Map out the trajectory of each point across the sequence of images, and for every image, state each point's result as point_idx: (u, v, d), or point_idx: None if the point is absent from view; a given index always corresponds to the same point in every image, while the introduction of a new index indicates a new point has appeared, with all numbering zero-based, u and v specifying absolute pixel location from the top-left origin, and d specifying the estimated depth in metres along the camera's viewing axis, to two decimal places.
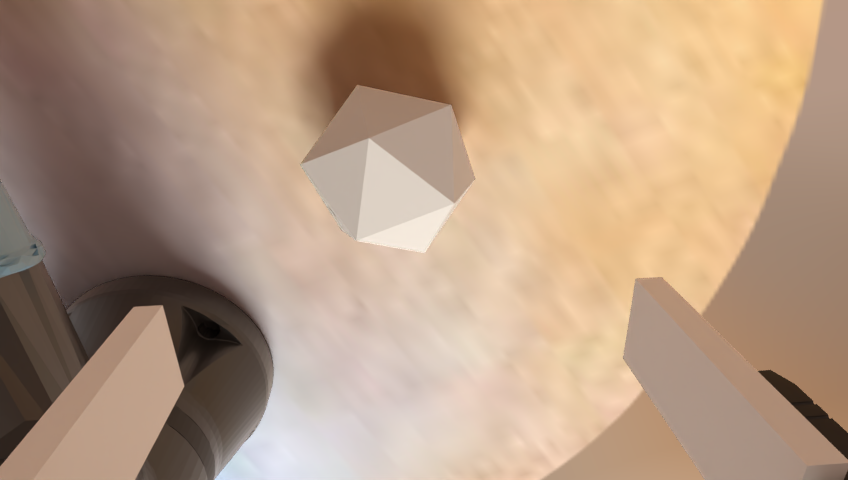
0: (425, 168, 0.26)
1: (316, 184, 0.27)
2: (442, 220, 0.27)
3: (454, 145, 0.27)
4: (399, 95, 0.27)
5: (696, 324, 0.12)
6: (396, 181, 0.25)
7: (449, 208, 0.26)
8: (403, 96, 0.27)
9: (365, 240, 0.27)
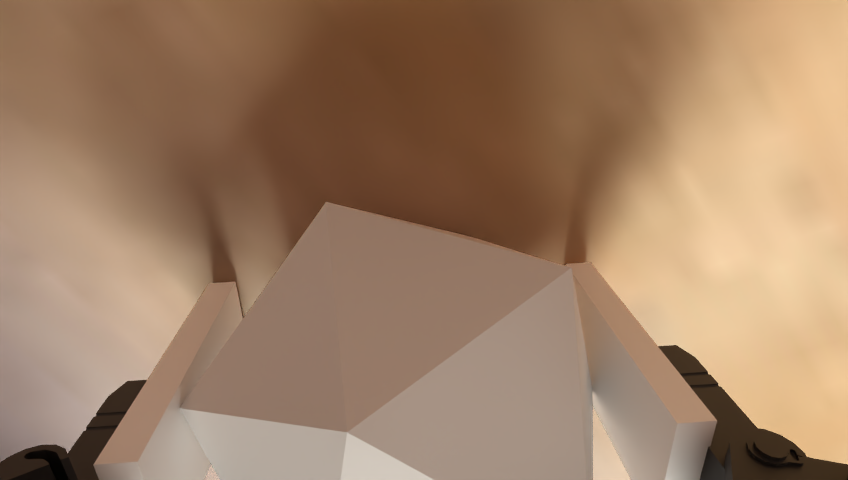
0: None
1: (217, 470, 0.10)
2: None
3: (580, 376, 0.10)
4: (431, 237, 0.11)
5: (611, 303, 0.13)
6: None
7: None
8: (443, 238, 0.11)
9: None
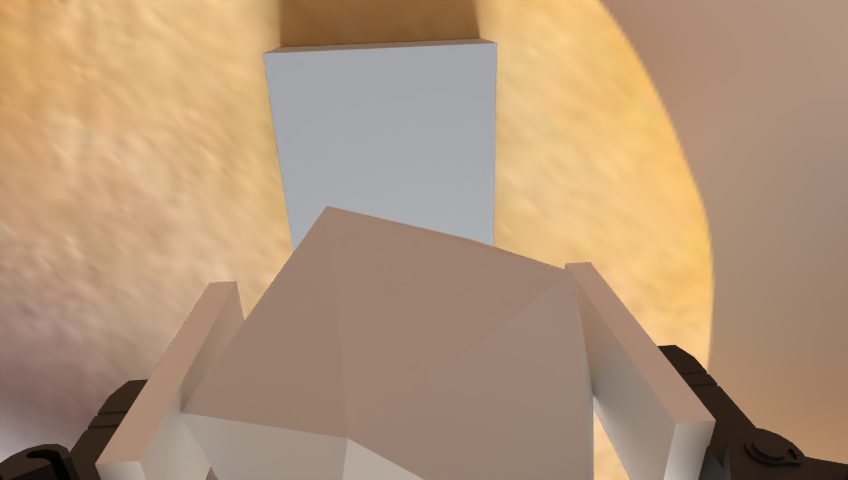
0: None
1: (217, 474, 0.10)
2: None
3: (580, 380, 0.10)
4: (432, 241, 0.11)
5: (610, 303, 0.13)
6: None
7: None
8: (444, 242, 0.11)
9: None
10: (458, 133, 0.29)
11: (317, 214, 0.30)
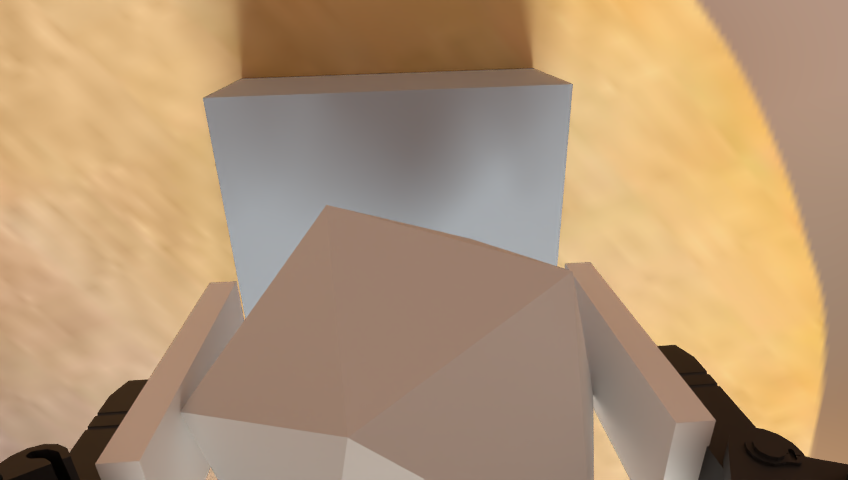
0: None
1: (217, 473, 0.10)
2: None
3: (581, 380, 0.10)
4: (432, 240, 0.11)
5: (610, 303, 0.13)
6: None
7: None
8: (444, 241, 0.11)
9: None
10: (506, 217, 0.19)
11: None
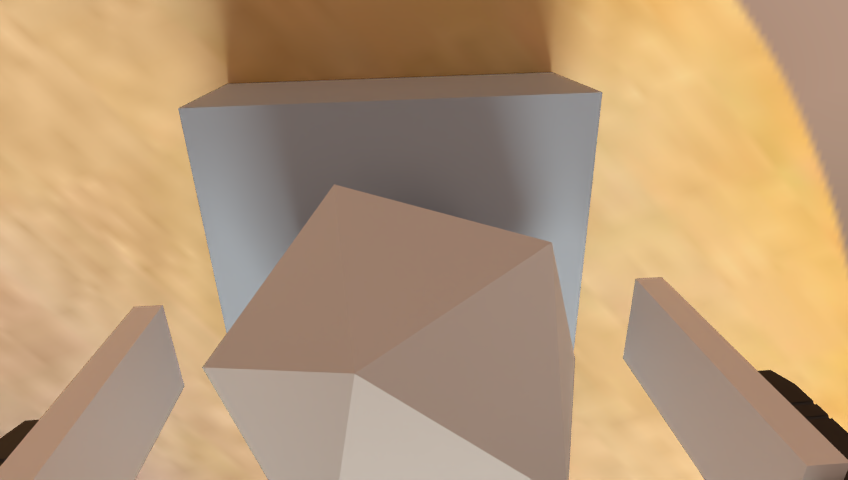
0: (499, 424, 0.10)
1: (236, 421, 0.12)
2: None
3: (558, 338, 0.11)
4: (428, 215, 0.12)
5: (696, 324, 0.12)
6: (427, 462, 0.10)
7: None
8: (439, 217, 0.12)
9: None
10: None
11: None
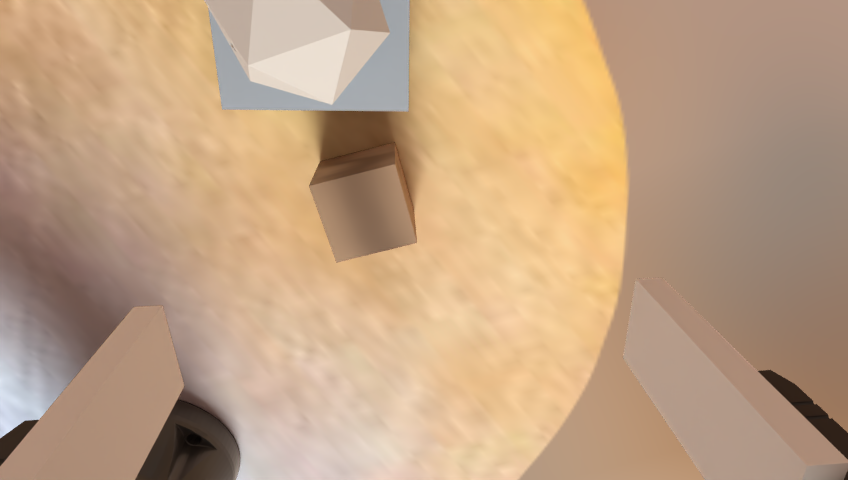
0: None
1: (213, 9, 0.26)
2: (342, 54, 0.26)
3: None
4: None
5: (696, 324, 0.12)
6: None
7: (346, 36, 0.25)
8: None
9: (258, 67, 0.25)
10: None
11: None
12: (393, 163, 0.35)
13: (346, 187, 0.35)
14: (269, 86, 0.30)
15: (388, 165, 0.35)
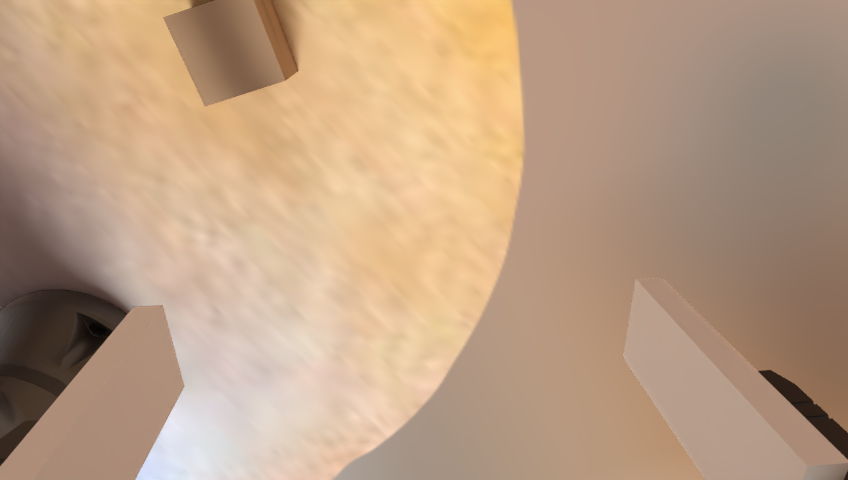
0: None
1: None
2: None
3: None
4: None
5: (696, 324, 0.12)
6: None
7: None
8: None
9: None
10: None
11: None
12: None
13: (202, 17, 0.34)
14: None
15: None
